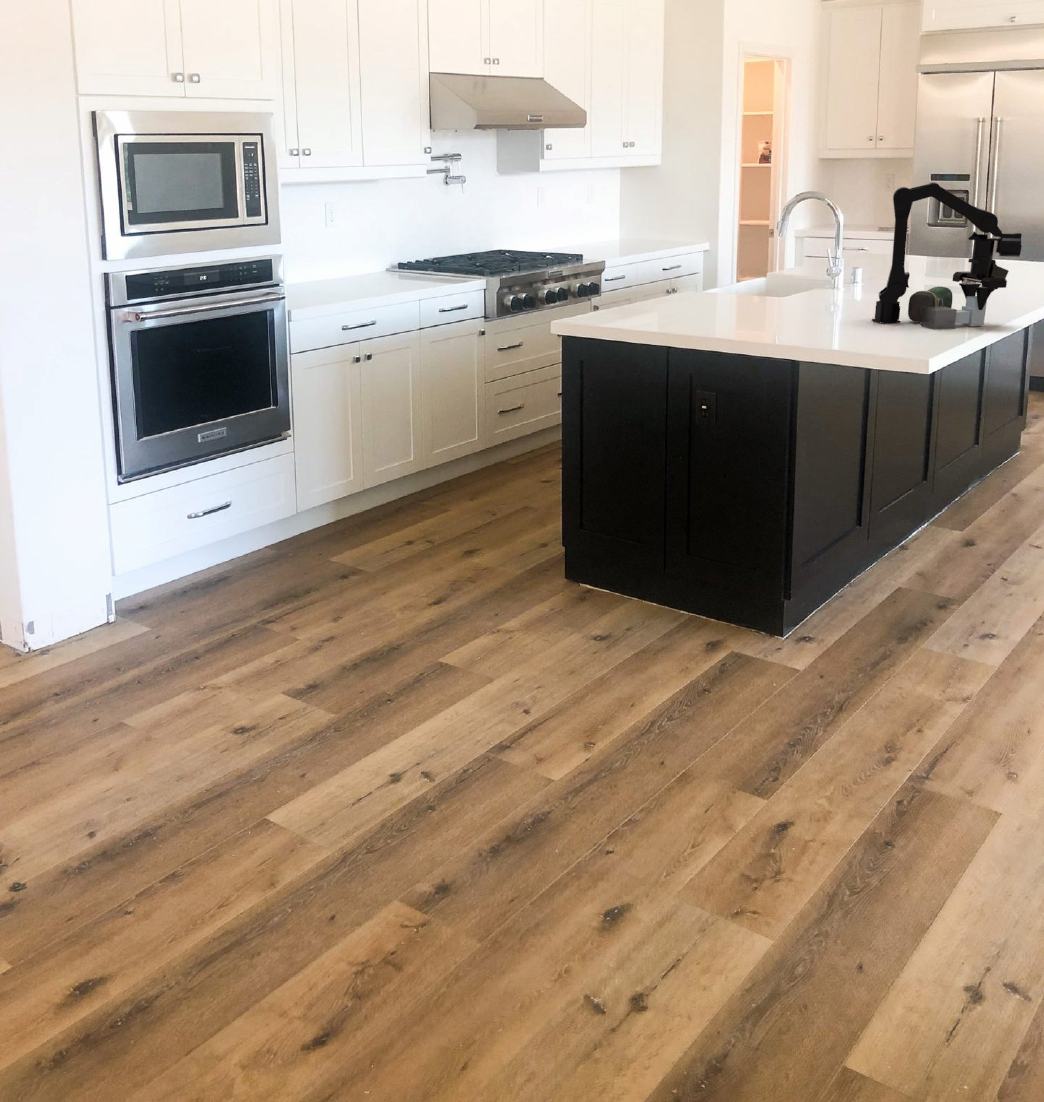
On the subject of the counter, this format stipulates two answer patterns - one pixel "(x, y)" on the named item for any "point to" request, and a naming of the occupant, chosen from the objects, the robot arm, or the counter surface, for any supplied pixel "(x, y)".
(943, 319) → the housing
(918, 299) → the coffee jar
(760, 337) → the counter surface
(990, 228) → the robot arm
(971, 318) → the end cover
